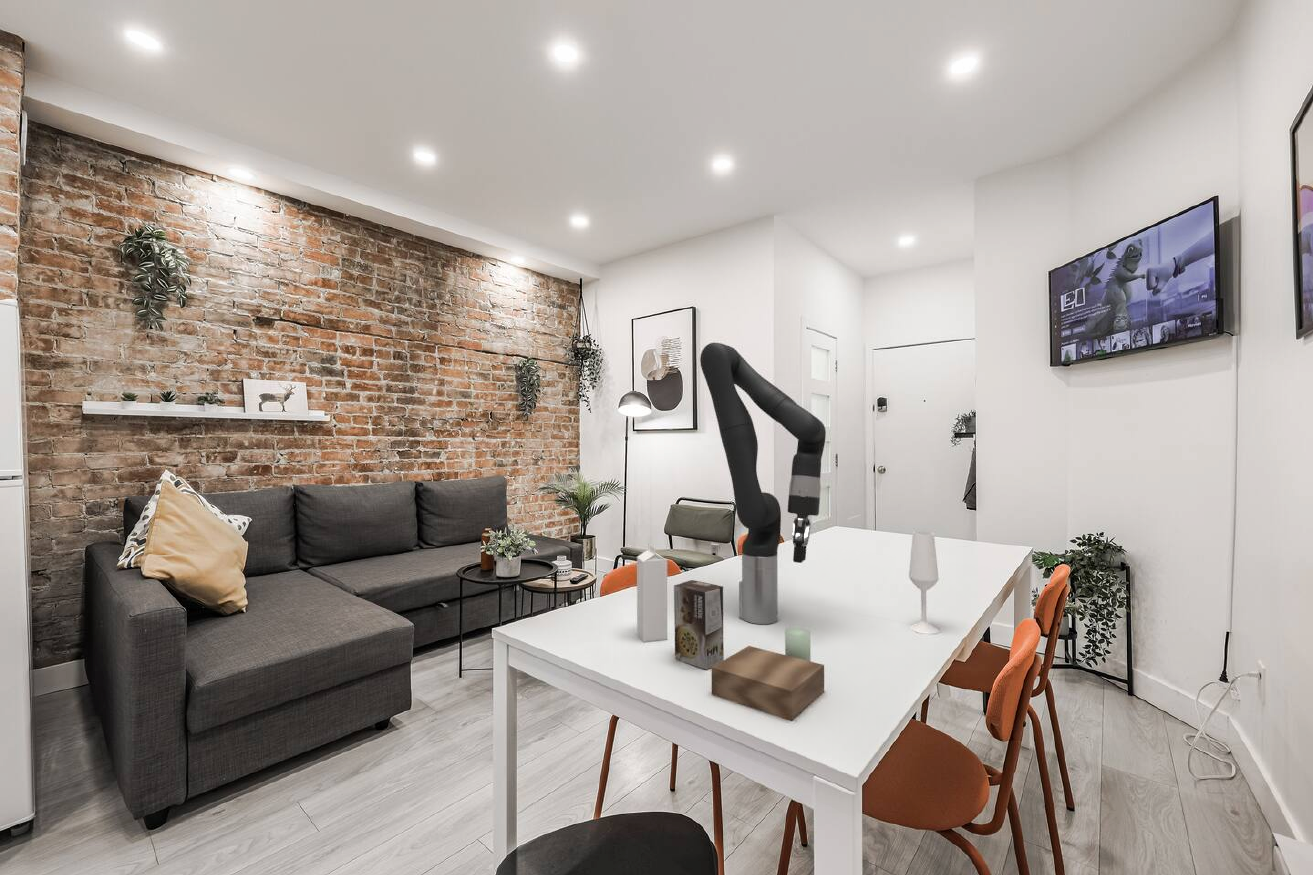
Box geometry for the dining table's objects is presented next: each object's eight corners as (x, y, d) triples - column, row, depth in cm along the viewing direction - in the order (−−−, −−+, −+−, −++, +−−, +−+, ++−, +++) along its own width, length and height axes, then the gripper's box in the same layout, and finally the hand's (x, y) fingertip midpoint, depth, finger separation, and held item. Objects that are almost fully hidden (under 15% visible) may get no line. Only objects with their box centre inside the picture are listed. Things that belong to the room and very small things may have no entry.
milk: (643, 642, 131) (642, 548, 131) (636, 633, 137) (636, 543, 137) (668, 639, 133) (667, 546, 133) (660, 631, 138) (659, 542, 139)
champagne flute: (934, 635, 135) (933, 536, 135) (905, 629, 139) (904, 533, 139) (942, 628, 140) (941, 532, 140) (914, 623, 144) (913, 529, 144)
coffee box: (725, 661, 119) (724, 586, 119) (705, 670, 115) (705, 591, 115) (692, 650, 126) (692, 578, 126) (673, 658, 121) (673, 584, 121)
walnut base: (711, 694, 104) (711, 667, 104) (748, 670, 115) (748, 645, 115) (791, 720, 94) (791, 690, 94) (824, 691, 105) (824, 664, 105)
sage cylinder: (781, 671, 114) (780, 632, 114) (791, 663, 118) (791, 625, 118) (804, 677, 111) (804, 637, 111) (814, 669, 115) (814, 630, 115)
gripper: (791, 495, 147) (786, 557, 145) (785, 492, 134) (780, 560, 132) (821, 498, 144) (816, 561, 142) (818, 495, 131) (813, 565, 129)
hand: (799, 561), depth 137 cm, fingers open, 8 cm apart
